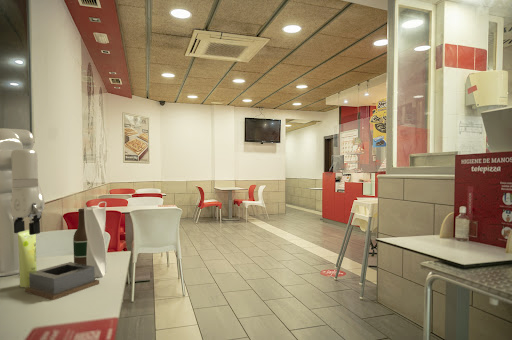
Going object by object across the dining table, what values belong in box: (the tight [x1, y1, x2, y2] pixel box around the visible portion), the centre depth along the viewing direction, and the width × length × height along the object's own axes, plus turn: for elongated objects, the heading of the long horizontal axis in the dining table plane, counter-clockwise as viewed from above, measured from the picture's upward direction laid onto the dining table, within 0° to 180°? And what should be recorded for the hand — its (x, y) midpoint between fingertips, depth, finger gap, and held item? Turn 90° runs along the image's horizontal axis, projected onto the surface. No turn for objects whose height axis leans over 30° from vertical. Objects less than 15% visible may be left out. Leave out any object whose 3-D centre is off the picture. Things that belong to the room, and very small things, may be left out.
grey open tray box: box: [24, 261, 100, 301], centre depth 113 cm, size 16×16×6 cm
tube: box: [18, 229, 38, 288], centre depth 116 cm, size 6×5×20 cm
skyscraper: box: [84, 200, 107, 278], centre depth 126 cm, size 8×8×28 cm
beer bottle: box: [72, 207, 88, 265], centre depth 139 cm, size 8×8×24 cm
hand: (26, 233), depth 116 cm, fingers open, 9 cm apart
